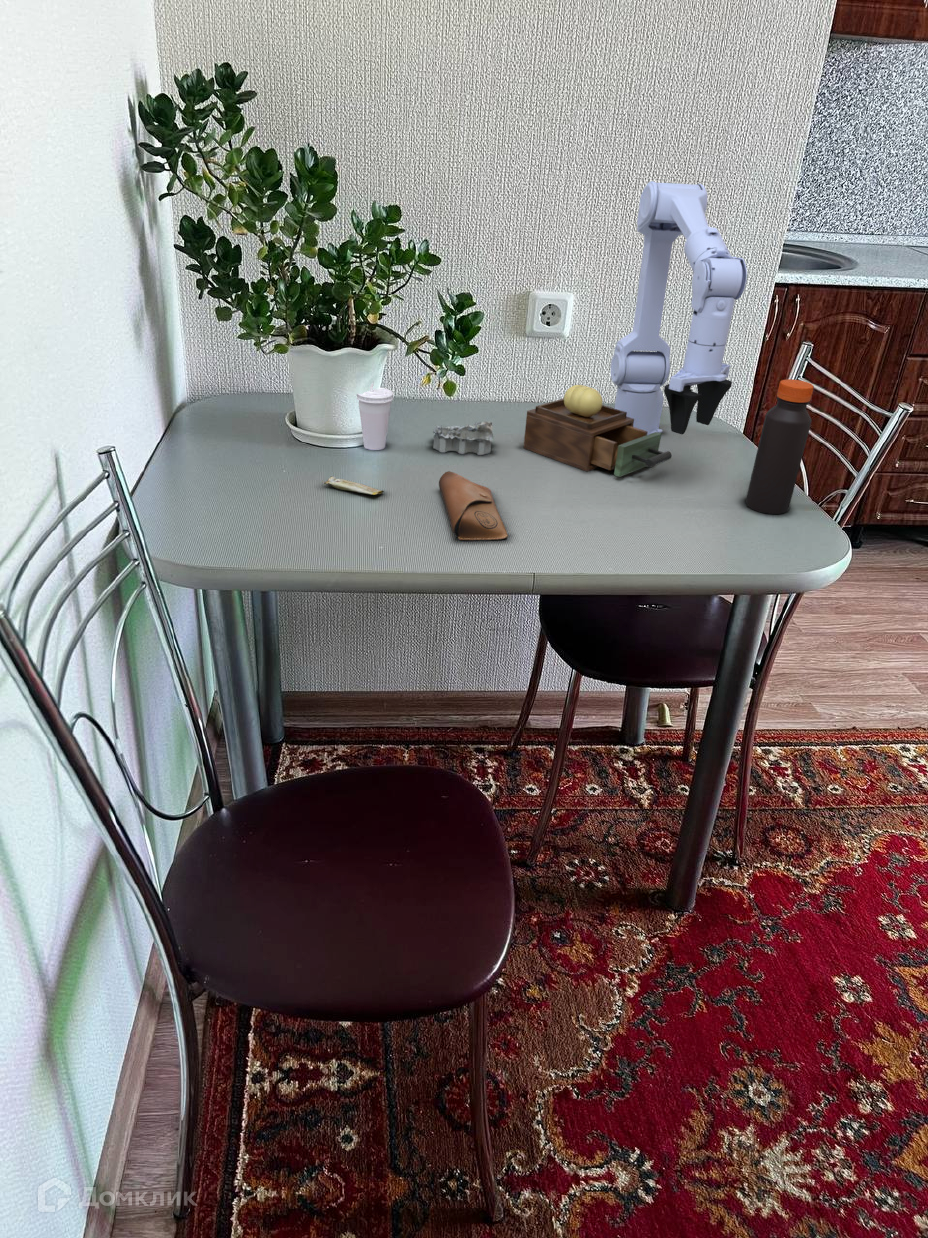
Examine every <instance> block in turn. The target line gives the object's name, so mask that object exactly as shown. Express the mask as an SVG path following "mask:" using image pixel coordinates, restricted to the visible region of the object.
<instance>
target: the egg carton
mask: <svg viewBox="0 0 928 1238" xmlns="http://www.w3.org/2000/svg"><path fill="white" fill-rule="evenodd" d="M432 434H434V435H433V447H432V448H433V449H434V450H436V451H438V452H439V453H446V452H451V451H452V452H456V453H458V454H460V455H465V454H467V453H475V454H477V456H484V455H488V454H490V453H492V452H491V451H492V442H493V439H494V433H493V422H492V421H491V422H488V421H480V422H479V421H478V422H475V423H474V425H470V424H466V425H461V426H458V425H452V426H451V425H449V426H442V425H434V429H433V432H432Z"/></svg>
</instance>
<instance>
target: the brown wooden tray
mask: <svg viewBox="0 0 928 1238" xmlns="http://www.w3.org/2000/svg"><path fill="white" fill-rule="evenodd" d="M562 405H565V404H564V397H563V398H560V399H557V400H554V401H549V402H545V403H543V404H539V405H536V406H535V408H534V409H535V412H538V413H541V414H544V415H547V416H550V417H553V418H556V419H559V420H562V421H565V422H568V423H571V424H574V425H577V426H580V427H583V428H586V429H588V430H591V429H594V428H597V427H600V426H603V425H606V424H609V423H612V422H615V421H618V420H621V419H624V418H626V416H627V412H624V411H621V410H618V409H614V407H611V406H608V405H604V404H602V408H601V410H600V411H603V412H606V413H609V414H612V416H609V417H606V418H603V419H600V420H597V421H594V422H591V423H589V422H586V421H583V420H579V419H576V418H573V417H570V416H567V415H564V414H561V413H558V412H555V411H552V410H549V409H551V408H555V407H558V406H562Z"/></svg>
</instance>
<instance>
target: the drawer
mask: <svg viewBox="0 0 928 1238" xmlns="http://www.w3.org/2000/svg"><path fill="white" fill-rule="evenodd" d="M661 438H662V433H658V432H654V433H651V434H649V435H647V431H644V430H641V429H638V428H635V427H632V426H629V425H625V426H622V427H619V428H616V429H613V430H610V431H607V432H604V433H601V434H598V435H595V436H594V441H593V448H592V456H591V464H594V465H597V466H599V467H598V468H603V469H605V470H608V471H613V470H614V472H613V475H614V476H616V477H618V478H621V477H623V476H626V475H628V474H630V473H633V472H635V471H637V470H640V469H643V468H645V467H647V468H651V467H654V466H657V465H659V464H661V463H664V462H666V461H668V460H671V459H672V457H673V454H672V452H671V451H669V450H667V451H661V450H660V445H661V440H662V439H661Z"/></svg>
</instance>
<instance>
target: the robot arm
mask: <svg viewBox="0 0 928 1238" xmlns="http://www.w3.org/2000/svg"><path fill="white" fill-rule="evenodd" d="M707 207H708V192H707V189H706V187H705V184H703V183H696V184H695V183H676V182H659V181H658V182H656V181H654V180H651V181H649V182H648V183H647V184H646V185H645V186H644V188H643V191H642V192H641V194H640V197H639V205H638V213H637V221H636V224H637V227H636V231H637V232H638V233H640V234H641V235H643V249H642V256H641V264H640V272H639V279H638V287H637V294H636V295H637V296H636V303H635V310H634V317H633V326H632V331H631V332H630V333H628V334H627V335H625V336H623V337H622V338H620V339H619V340H617V342H616V344H615V346H614V352H613V355H612V358H611V362H610V378H611V381H612V382H613V384H614V385H615V386H617V388H616V393H615V401H614V407H613V408H614V409H618V410H621V411H624V412H627V417H630V418H633V419H634V424H633V427H635V428H638V429H641V430H644V431H647V435H649V434H651V433H654V432H658V433H661V434H662V433H663V429H661V428H660V423H661V418H662V412H663V406H664V400H665V399H664V396H665V398H666V402H667V404H668V409H669V419H670V431H671V432H672V433H676V434H679V435H685V433H686V431H687V429H688V427H689V423H690V419H691V416H692V413H693V410H694V408H695V406H696V412H695V413H696V415H695V417H696V423H698V424H701V425H705V426H709V425H710V424H711V422H712V420H713V418H714V417H715V414H716V411H717V409H718V407H719V405H720V403H721V402H722V400H723V399H724V397H725V395H726V394H727V393H728V392H729V390H730V389H731V388H732V386H733V381H731V380H729V379H727V378H728V377H729V374H730V370H731V364H727V363H724V361H723V360H724V357H725V350H726V346H727V341H728V337H729V332H730V326H731V322H732V317H733V312H734V308H735V302H736V301H737V300H739V299H740V298H741V297H742V296H743V294H744V292H745V289H746V286H747V279H748V268H747V264H746V261H745V259H744V258H743V257H737V256H735V255H733V256H732V255H731V253H730V250H729V248H728V247H727V244H726V243H725V240H724V239H723V237H722V235H721V233H720V231H719V230H718V229H717V227H712V226H709V223H708V220H707V217H706V213H707V212H706V211H707V209H708V208H707ZM679 236H684V238H685V243H684V248H683V250H684V255H685V257H686V259H687V260H688V263H689V266H690V267H691V270H692V272H693V273H692V277H691V278H692V280H691V290H692V294H691V295H692V296H691V301H690V304H691V305H690V306H691V309H693V310H692V316H691V321H690V322H691V323H690V327H689V332H688V338H687V344H686V349H685V355H684V360H683V364H682V365H683V366H682V367H681V368H680V369H679V370H678V371H677V372H676V373H675V374H674V375H672V376H670V374H671V373H670V372H671V360H670V359H671V347H670V345H669V344H668V342H667V341H666V340H665V339H663V337H661V336H660V333H661V327H662V326H661V325H662V319H663V313H664V312H663V311H664V307H665V306H664V305H665V300H666V299H665V298H666V291H667V284H668V277H669V269H670V263H671V256H672V248H673V244H674V242H675V241H676V240H677V239H678V237H679ZM669 377H670V378H669ZM668 380H670V381H669V383H668V384H666V383H667V381H668ZM663 386H664V387H663ZM693 386H696V389H697V392H696V391H693V388H692V387H693ZM661 387H663V391H662V389H661ZM691 388H692V389H691ZM663 393H664V394H663Z"/></svg>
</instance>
